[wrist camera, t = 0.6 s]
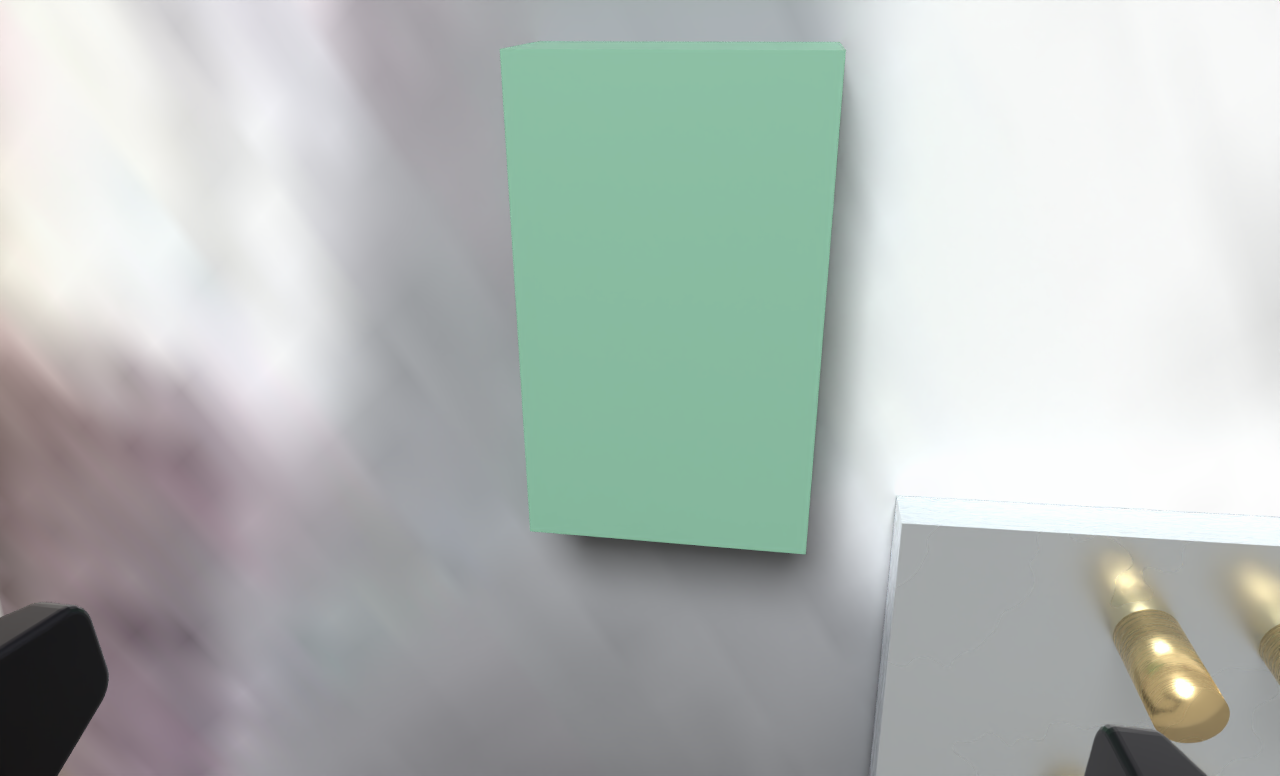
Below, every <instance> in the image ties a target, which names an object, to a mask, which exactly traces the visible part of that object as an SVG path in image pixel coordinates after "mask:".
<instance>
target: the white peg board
mask: <svg viewBox="0 0 1280 776" xmlns="http://www.w3.org/2000/svg"><path fill="white" fill-rule="evenodd" d="M1107 724H1117V725H1125V726H1134V727H1143V728H1150V729H1154V730H1157V731H1158V732H1160V733H1162V734H1163V735H1164V736H1166V737H1167V738H1168V739H1169V740H1170V741H1171V742H1172V743H1174V744H1175V745H1176V746H1177V747H1178V748H1179V749H1180V750H1181V751H1182V752H1183V753H1184V754H1185V755H1186V756H1187V757H1189V758H1190V759H1191V760H1192V761H1193V762H1194V763H1195V764H1196V765H1197V766H1198V767H1199V768H1200V769H1201V770H1202V771H1204V772H1205V773H1206V774H1207V775H1208V776H1280V518H1279V517H1261V516H1244V515H1226V514H1208V513H1190V512H1172V511H1154V510H1137V509H1119V508H1101V507H1083V506H1065V505H1047V504H1030V503H1012V502H994V501H976V500H958V499H940V498H923V497H905V496H897V498H896V508H895V519H894V529H893V539H892V549H891V559H890V569H889V579H888V589H887V599H886V610H885V620H884V630H883V640H882V650H881V660H880V670H879V680H878V690H877V701H876V711H875V721H874V731H873V741H872V751H871V761H870V771H869V776H1084V774H1085V770H1086V766H1087V763H1088V759H1089V755H1090V752H1091V748H1092V745H1093V741H1094V738H1095V735H1096V733H1097V731H1098V730H1099V729H1100V727H1102V726H1104V725H1107Z"/></svg>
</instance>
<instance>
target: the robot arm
mask: <svg viewBox="0 0 1280 776" xmlns="http://www.w3.org/2000/svg"><path fill="white" fill-rule="evenodd" d="M108 681H109V673H108V668H107V665H106V662H105V659H104V656H103V653H102V650H101V647H100V644H99V641H98V638H97V635H96V632H95V629H94V626H93V623H92V620H91V618H90V616H89V614H88V613H87V612H86V611H85V610H84V609H83V608H81V607H79V606H76V605H69V604H60V603H52V602H39V603H34V604H31V605H29V606H26V607H24V608H21V609H19V610H17V611H14V612H12V613H10V614H7V615H5V616H2V617H0V776H58V774H59V772H60V771H61V769H62V767H63V766H64V764H65V762H66V761H67V759H68V757H69V756H70V754H71V752H72V751H73V749H74V747H75V746H76V744H77V742H78V741H79V739H80V737H81V736H82V734H83V732H84V730H85V729H86V727H87V725H88V724H89V722H90V720H91V719H92V717H93V715H94V714H95V712H96V710H97V709H98V707H99V705H100V704H101V702H102V700H103V698H104V696H105V693H106V691H107V687H108ZM1084 776H1208V775H1207V774H1206V773H1205V772H1204V771H1202V770H1201V769H1200V768H1199V767H1198V766H1197V765H1196V764H1195V763H1194V762H1193V761H1192V760H1191V759H1190V758H1189V757H1187V756H1186V755H1185V754H1184V753H1183V752H1182V751H1181V750H1180V749H1179V748H1178V747H1177V746H1176V745H1175V744H1174V743H1172V742H1171V741H1170V740H1169V739H1168V738H1167V737H1166V736H1164V735H1163V734H1162V733H1160V732H1158V731H1157V730H1154V729H1150V728H1143V727H1134V726H1125V725H1117V724H1107V725H1104V726H1102V727H1100V729H1099V730H1098V731H1097V733H1096V735H1095V738H1094V741H1093V745H1092V748H1091V752H1090V755H1089V759H1088V763H1087V766H1086V770H1085V774H1084Z"/></svg>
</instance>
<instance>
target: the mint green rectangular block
mask: <svg viewBox="0 0 1280 776" xmlns="http://www.w3.org/2000/svg"><path fill="white" fill-rule="evenodd" d="M845 52H846V50H845V49H844V47H843V46H842V45H841V43H840V42H565V41H538V42H533V43H528V44H523V45H518V46H513V47H508V48H503V49H500V59H501V75H502V91H503V107H504V123H505V138H506V154H507V170H508V186H509V202H510V218H511V234H512V249H513V265H514V281H515V297H516V313H517V329H518V345H519V360H520V376H521V392H522V408H523V424H524V440H525V456H526V471H527V487H528V503H529V519H530V531H534V532H546V533H557V534H569V535H581V536H593V537H605V538H617V539H629V540H641V541H653V542H665V543H676V544H688V545H700V546H712V547H724V548H736V549H748V550H760V551H772V552H783V553H795V554H806V544H807V531H808V519H809V506H810V493H811V481H812V468H813V456H814V443H815V430H816V418H817V405H818V392H819V380H820V367H821V355H822V342H823V329H824V317H825V304H826V292H827V279H828V266H829V254H830V241H831V229H832V216H833V203H834V191H835V178H836V166H837V153H838V140H839V128H840V115H841V103H842V90H843V77H844V65H845Z"/></svg>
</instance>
